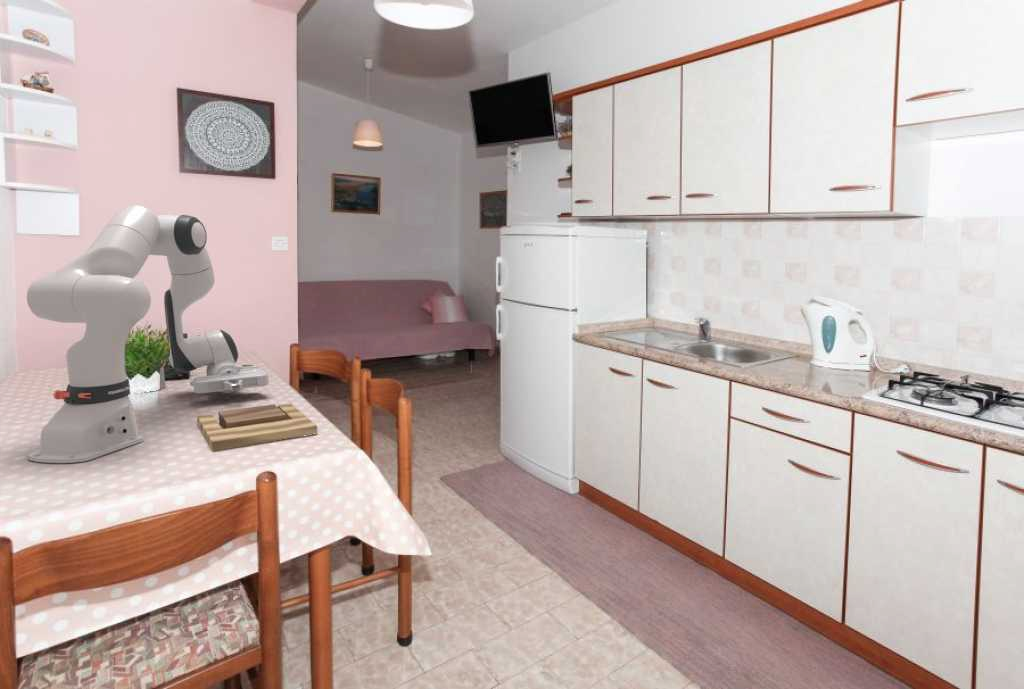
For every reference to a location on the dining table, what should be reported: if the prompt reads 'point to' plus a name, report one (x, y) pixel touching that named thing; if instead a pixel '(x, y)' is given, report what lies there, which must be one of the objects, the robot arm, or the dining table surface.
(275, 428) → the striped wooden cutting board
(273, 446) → the dining table surface
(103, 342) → the robot arm
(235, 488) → the dining table surface
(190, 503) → the dining table surface
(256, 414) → the plank
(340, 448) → the dining table surface
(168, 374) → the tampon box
